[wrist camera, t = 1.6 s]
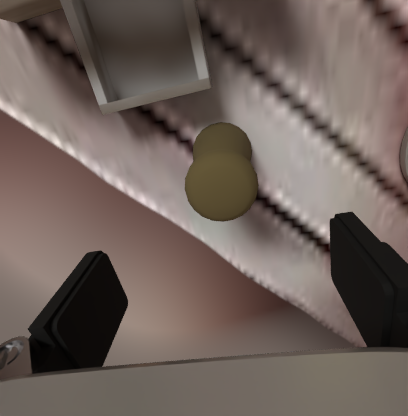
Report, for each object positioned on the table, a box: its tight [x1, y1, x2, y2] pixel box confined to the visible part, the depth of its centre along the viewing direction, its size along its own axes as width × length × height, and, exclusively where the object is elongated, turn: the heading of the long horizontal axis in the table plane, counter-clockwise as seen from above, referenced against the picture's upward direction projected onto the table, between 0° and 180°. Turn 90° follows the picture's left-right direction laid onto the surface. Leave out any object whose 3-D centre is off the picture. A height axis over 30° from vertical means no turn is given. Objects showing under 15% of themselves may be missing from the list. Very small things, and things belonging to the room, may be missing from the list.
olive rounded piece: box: [185, 122, 259, 221], centre depth 22 cm, size 6×6×11 cm
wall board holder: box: [0, 0, 212, 115], centre depth 19 cm, size 10×22×9 cm, turn 103°
